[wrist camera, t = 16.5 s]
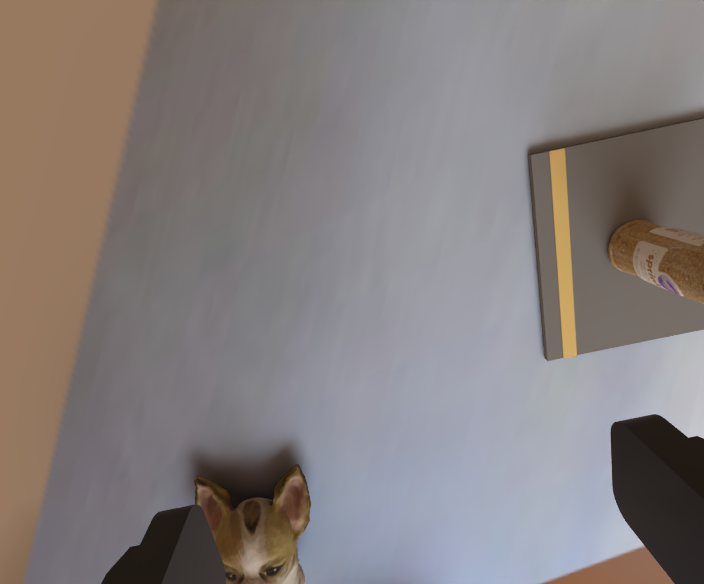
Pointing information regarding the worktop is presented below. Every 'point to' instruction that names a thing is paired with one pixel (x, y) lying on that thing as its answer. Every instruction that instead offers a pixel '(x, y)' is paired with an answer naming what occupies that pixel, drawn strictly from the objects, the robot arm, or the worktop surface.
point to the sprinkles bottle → (661, 257)
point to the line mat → (598, 228)
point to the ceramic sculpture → (258, 530)
